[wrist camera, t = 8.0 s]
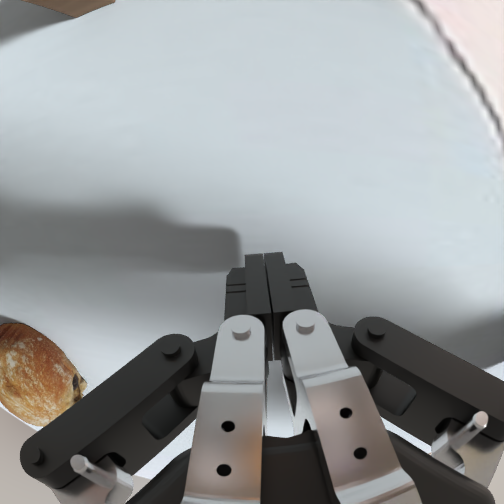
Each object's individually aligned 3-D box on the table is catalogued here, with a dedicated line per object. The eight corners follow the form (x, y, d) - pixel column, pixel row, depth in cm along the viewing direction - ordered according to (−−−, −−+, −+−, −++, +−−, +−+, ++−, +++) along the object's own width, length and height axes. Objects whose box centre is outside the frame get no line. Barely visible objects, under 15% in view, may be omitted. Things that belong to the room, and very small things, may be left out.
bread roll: (95, 371, 23) (107, 438, 17) (16, 381, 19) (16, 445, 13) (63, 296, 18) (60, 375, 12) (-27, 311, 14) (-48, 382, 8)
